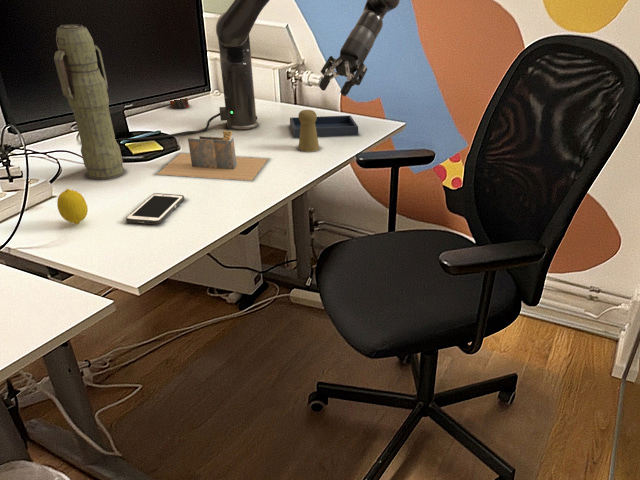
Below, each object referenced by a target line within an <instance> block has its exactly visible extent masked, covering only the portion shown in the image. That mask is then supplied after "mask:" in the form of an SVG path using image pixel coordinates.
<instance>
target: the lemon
mask: <svg viewBox="0 0 640 480" xmlns="http://www.w3.org/2000/svg"><path fill="white" fill-rule="evenodd" d="M56 201H57V203H56V204H57V205H56V206H57V210H58V213H59V215H60V216H61V217H62V219H64V221H67V222H69V223H73V224H75V225H79V224H80V223H81V222H82V221H84V220H85V218H86V217H87V216H88V211H89V210H88V204H87V201H86V199H85V197H84V196H83V195H82V194H81V192H79V191H77V190H74V189H70V188H66V189H65V190H63V191H62V192H61V193H60V194H59V195H58V197H57V200H56Z"/></svg>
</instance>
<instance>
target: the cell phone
mask: <svg viewBox="0 0 640 480" xmlns="http://www.w3.org/2000/svg"><path fill="white" fill-rule="evenodd" d="M184 200H185V196H184V194H183V195H182V194H176V193H175V194H173V193H162V192H160V193H159V192H155V193H152V194H150V195H149V196H148V197H147V198H146V199H145V200H144V201H143V202H142V203H140V204H139V205H138V206H137V207H136V208H135V209H133V210H132V211H131V212H130V213H129V214H128V215H127V216H126V217H125V221H126V222H127V223H133V224H144V225H145V224H146V225H160V224H161V223H162V222H163V221H165V219H166V218H168V216H169V215H170V214H171V213H172V212H173V211H175V209H176V208H177V207H178V206H179V205H180V204H182V202H184Z"/></svg>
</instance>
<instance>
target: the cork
mask: <svg viewBox="0 0 640 480" xmlns="http://www.w3.org/2000/svg"><path fill="white" fill-rule="evenodd" d="M298 117H299V121H300V122H301V126H300V138H298V139H299V141H298V150H300V151H301V152H307V153H311V152H317V151H318V150H320V144H319V140H318V139H319V137H317V131H316V125H315V122H316V119H317V117H318V116H317V113H316V111H315V110H312V109H303V110H300V111H299V113H298Z"/></svg>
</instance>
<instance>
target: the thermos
mask: <svg viewBox="0 0 640 480" xmlns="http://www.w3.org/2000/svg"><path fill="white" fill-rule="evenodd" d="M55 34H56V35H55V42H56V47H57V49H58V50H57V51H55V52H54V56H53V61H54V65H55V68H56V72H57V77H58V81H59V85H60V88H61V92H62V96H63V97H65V98H67V101H68V105H69V106H70V109H72V112H73V116H74V120H75V124H76V128H77V132H78V136H79V140H80V144H81V146H80V154H81V157H82V162H83V165H84V168H86V174H87V177H88V178H89V179H92V180H100V181H102V180H104V181H105V180H111V179H116V178H119V177H121V176H123V175H124V174H125V169H124V165H123V163H124V160H123V156H122V153H121V147H120V145H119V144H118V141H116V139H115V138H116V135H115V131H114V126H113V122H112V117H111V112H110V107H109V105H110V100H109V94H108V90H109V85H108V83H109V82H108V78H107V74H106V69H105V64H104V60H103V55H102V50H101V49H100V48H99V46H98V45H97V44H95V43H94V39H93V37H92V34H91V33H90V32H89V30H88V28H87V27H86V26H84V25H82V24H78V23H77V24H75V23H74V24H73V23H71V24H69V23H68V24H61V25H59V27H57V28H56V33H55Z"/></svg>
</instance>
